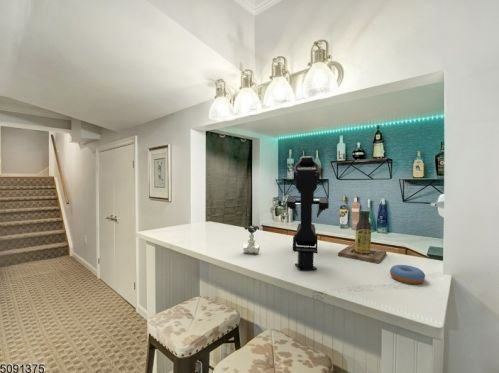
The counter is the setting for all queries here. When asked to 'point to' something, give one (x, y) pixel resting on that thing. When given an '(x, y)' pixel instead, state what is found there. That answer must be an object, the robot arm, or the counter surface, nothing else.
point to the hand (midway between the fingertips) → (307, 216)
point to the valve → (251, 241)
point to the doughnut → (407, 274)
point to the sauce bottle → (363, 234)
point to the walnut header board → (375, 258)
